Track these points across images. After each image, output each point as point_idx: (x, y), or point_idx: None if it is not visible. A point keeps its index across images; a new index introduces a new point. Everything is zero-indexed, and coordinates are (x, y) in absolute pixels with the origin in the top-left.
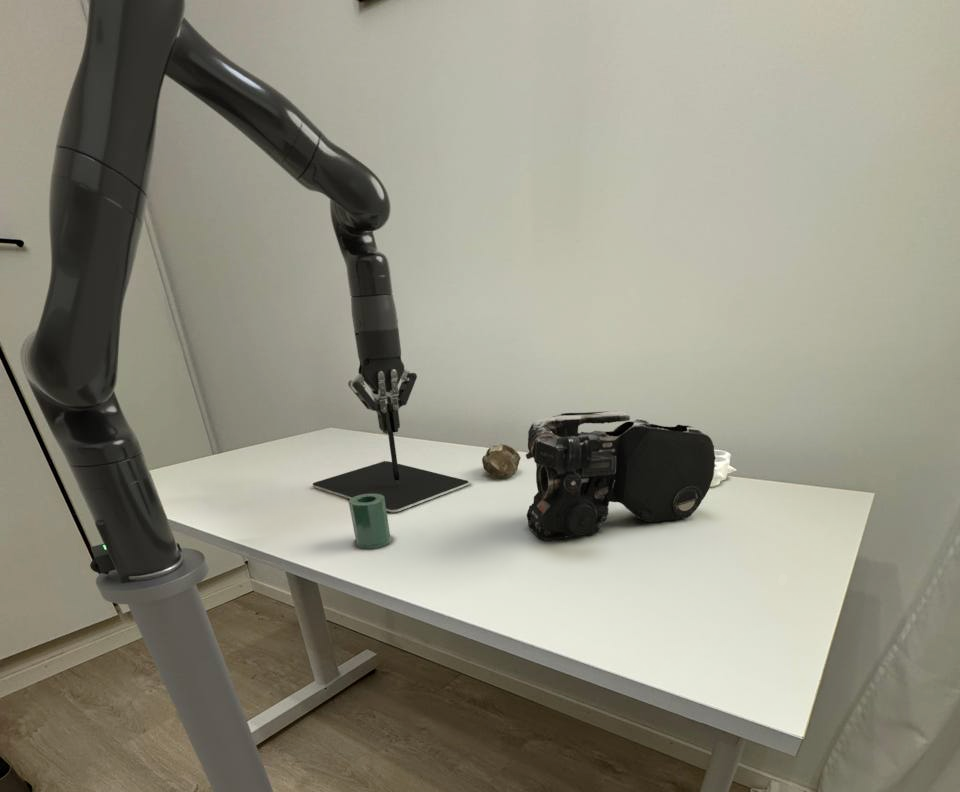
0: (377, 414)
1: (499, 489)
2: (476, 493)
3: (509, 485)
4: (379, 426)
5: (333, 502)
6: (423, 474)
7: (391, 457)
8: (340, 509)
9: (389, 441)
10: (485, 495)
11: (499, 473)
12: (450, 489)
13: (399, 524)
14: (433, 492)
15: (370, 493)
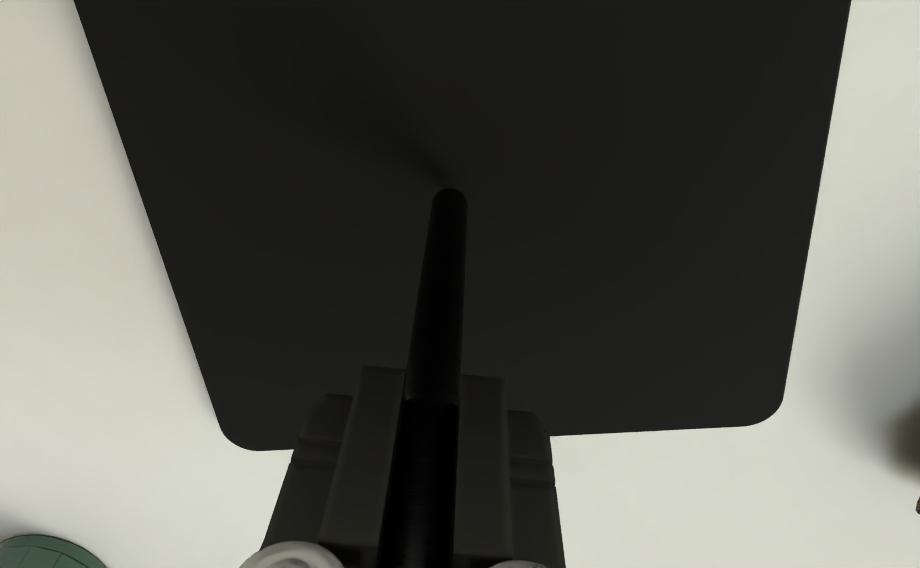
0: (265, 538)
1: (779, 535)
2: (675, 503)
3: (854, 533)
4: (301, 432)
5: (11, 39)
6: (750, 103)
7: (421, 276)
8: (23, 192)
9: (408, 358)
10: (674, 542)
11: (917, 503)
12: (614, 432)
13: (202, 527)
14: (523, 407)
15: (248, 160)
